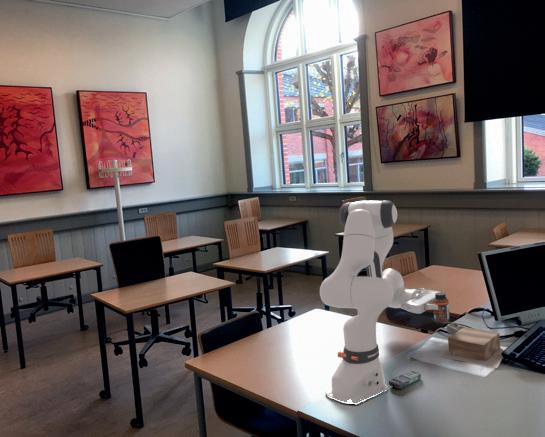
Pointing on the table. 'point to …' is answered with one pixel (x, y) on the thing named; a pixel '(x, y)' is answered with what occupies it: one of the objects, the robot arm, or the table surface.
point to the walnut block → (474, 343)
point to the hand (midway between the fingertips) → (443, 304)
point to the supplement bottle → (441, 307)
